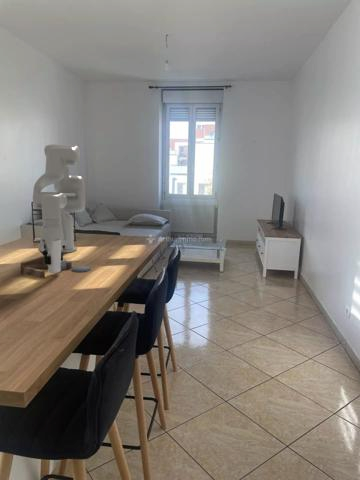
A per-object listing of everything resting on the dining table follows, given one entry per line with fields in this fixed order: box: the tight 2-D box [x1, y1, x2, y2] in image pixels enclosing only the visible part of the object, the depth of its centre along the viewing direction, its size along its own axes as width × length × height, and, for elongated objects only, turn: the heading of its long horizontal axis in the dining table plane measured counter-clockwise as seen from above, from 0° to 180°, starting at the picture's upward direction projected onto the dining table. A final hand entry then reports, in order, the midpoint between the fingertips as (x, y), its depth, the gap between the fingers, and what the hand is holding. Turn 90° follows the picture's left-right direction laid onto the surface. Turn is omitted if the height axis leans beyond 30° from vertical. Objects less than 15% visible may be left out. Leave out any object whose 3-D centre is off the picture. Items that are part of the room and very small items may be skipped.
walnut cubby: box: [20, 255, 73, 279], centre depth 164 cm, size 13×18×5 cm
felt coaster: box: [70, 265, 92, 273], centre depth 168 cm, size 9×9×1 cm
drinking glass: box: [46, 239, 62, 274], centre depth 157 cm, size 7×7×15 cm
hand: (54, 261), depth 158 cm, fingers closed on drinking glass, 6 cm apart
